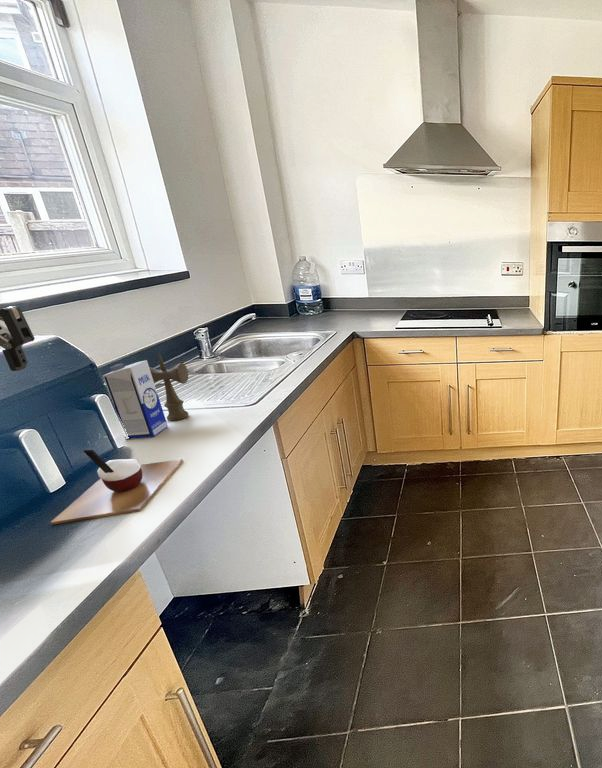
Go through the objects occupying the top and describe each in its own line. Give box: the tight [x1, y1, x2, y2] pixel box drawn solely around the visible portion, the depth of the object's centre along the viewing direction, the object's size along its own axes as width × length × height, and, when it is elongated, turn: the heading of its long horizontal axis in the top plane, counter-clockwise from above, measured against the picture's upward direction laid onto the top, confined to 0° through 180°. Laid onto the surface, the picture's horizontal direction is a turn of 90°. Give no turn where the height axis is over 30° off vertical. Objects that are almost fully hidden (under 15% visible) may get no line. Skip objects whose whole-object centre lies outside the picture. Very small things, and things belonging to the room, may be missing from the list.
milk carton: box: [102, 359, 169, 440], centre depth 111 cm, size 7×7×20 cm
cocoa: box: [83, 449, 142, 492], centre depth 86 cm, size 10×6×12 cm, turn 165°
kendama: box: [149, 353, 189, 421], centre depth 120 cm, size 6×10×20 cm, turn 107°
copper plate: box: [50, 459, 184, 526], centre depth 89 cm, size 14×20×1 cm
